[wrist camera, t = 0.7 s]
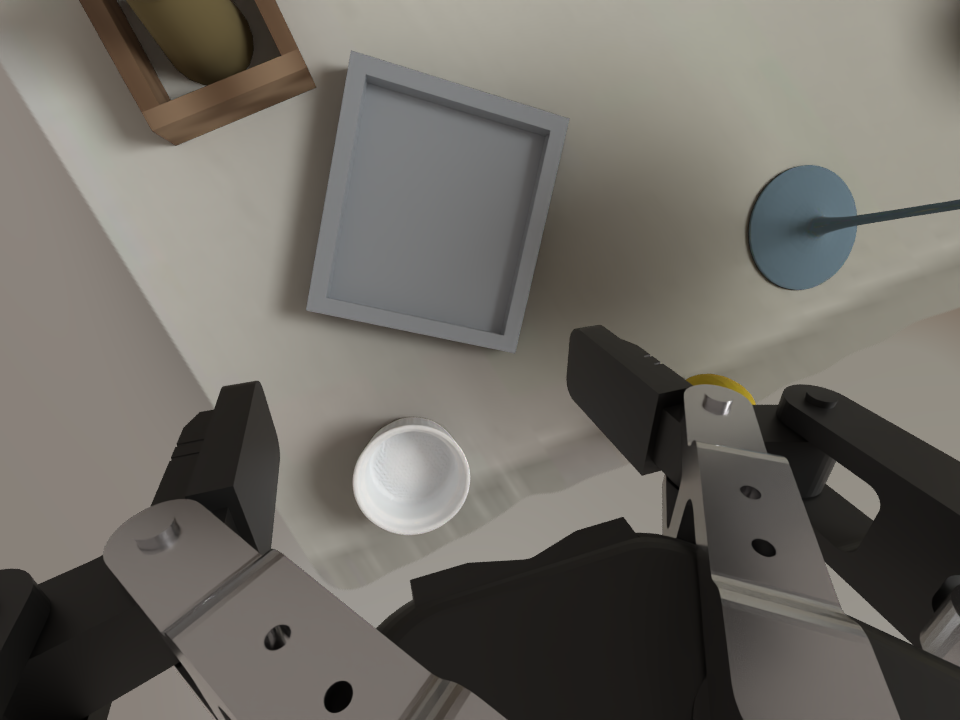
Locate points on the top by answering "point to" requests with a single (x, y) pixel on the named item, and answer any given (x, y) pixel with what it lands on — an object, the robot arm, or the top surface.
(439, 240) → the grey tray
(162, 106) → the walnut holder
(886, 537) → the robot arm
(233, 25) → the cork
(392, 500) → the ramekin
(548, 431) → the top surface
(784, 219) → the cocktail glass
